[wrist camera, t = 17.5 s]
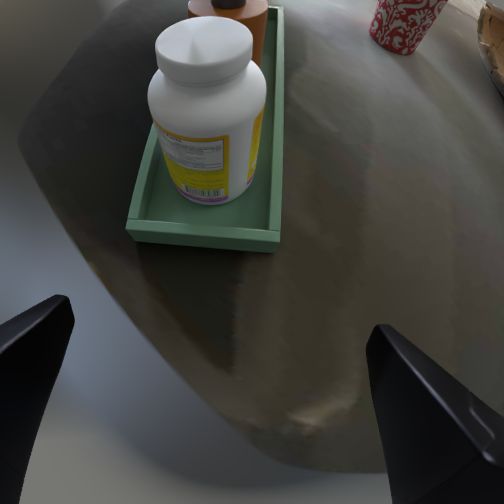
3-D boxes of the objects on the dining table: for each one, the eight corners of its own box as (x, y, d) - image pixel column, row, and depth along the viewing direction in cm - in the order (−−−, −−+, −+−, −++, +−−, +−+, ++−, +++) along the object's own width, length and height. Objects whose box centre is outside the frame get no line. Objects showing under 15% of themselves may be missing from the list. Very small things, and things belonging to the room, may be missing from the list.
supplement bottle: (225, 126, 26) (228, -2, 13) (270, 181, 24) (304, 50, 12) (156, 162, 24) (117, 35, 12) (197, 224, 23) (170, 101, 11)
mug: (429, 64, 33) (468, -1, 20) (378, 54, 32) (414, -24, 19) (392, 18, 37) (418, -41, 24) (345, 9, 36) (367, -58, 23)
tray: (274, 253, 23) (280, 242, 21) (134, 241, 23) (124, 229, 20) (281, 22, 33) (284, 6, 30) (200, 16, 32) (200, 1, 30)
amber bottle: (255, 113, 26) (272, -12, 14) (189, 108, 26) (176, -15, 14) (258, 72, 28) (273, -38, 16) (200, 68, 28) (195, -41, 15)
